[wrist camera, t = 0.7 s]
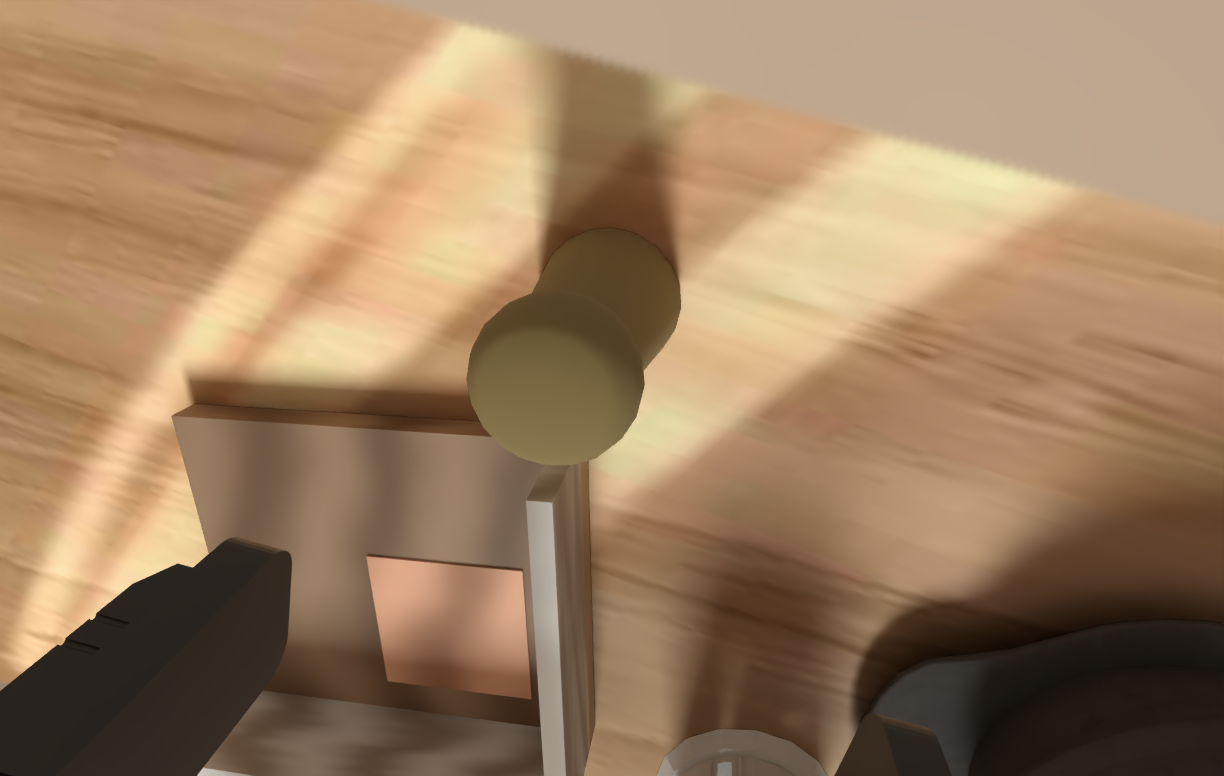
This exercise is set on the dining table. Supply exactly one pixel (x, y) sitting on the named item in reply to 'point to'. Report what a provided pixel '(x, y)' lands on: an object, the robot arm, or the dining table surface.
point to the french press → (738, 756)
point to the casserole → (1076, 703)
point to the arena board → (405, 594)
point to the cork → (575, 349)
